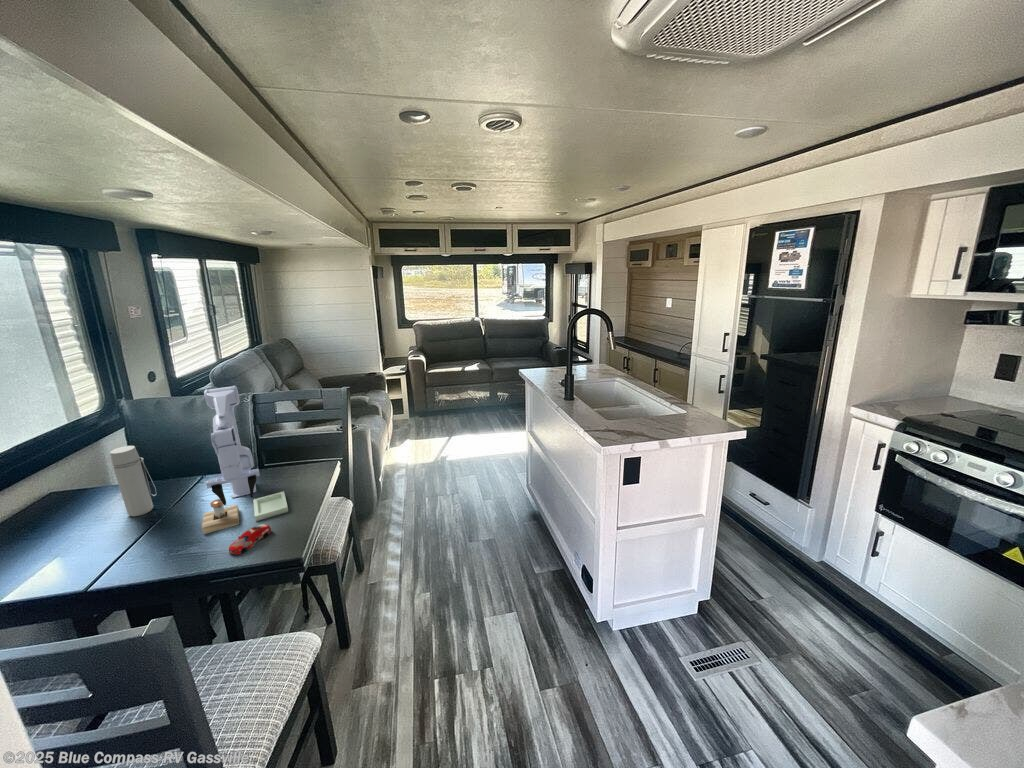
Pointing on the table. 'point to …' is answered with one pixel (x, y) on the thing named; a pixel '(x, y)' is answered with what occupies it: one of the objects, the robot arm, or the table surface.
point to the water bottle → (132, 480)
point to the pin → (218, 509)
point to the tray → (270, 506)
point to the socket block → (220, 520)
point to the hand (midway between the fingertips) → (238, 500)
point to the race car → (249, 539)
